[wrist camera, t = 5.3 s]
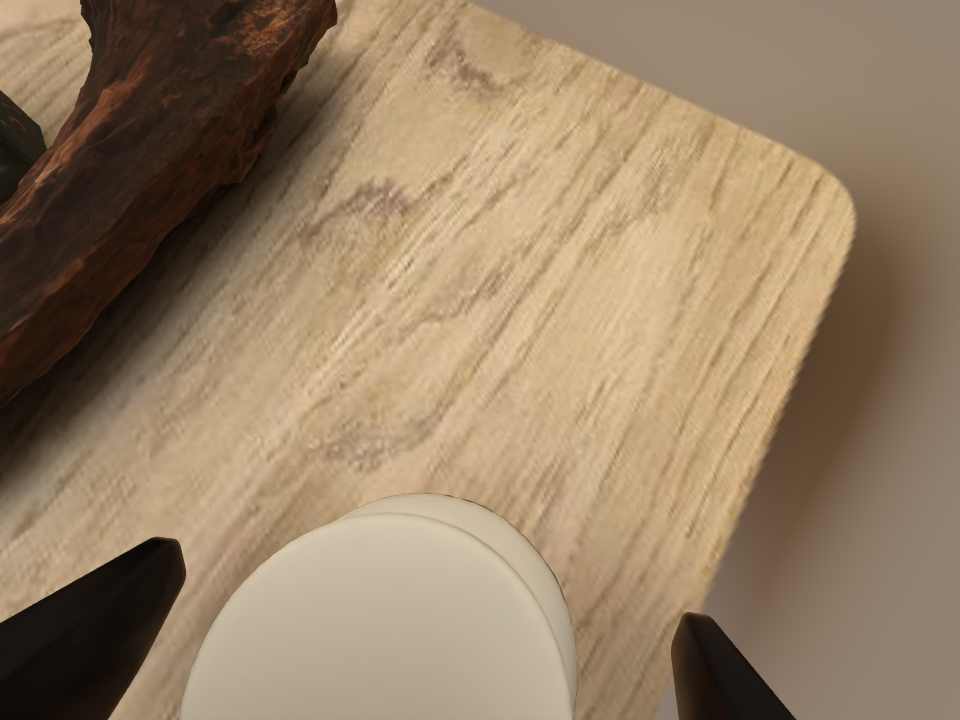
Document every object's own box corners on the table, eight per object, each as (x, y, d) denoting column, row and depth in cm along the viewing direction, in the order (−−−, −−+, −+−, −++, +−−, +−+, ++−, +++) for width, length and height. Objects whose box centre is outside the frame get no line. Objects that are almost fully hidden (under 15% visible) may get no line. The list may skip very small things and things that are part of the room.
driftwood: (213, 19, 24) (83, -230, 16) (372, 67, 22) (314, -175, 15) (-159, 489, 17) (-700, 445, 9) (44, 592, 16) (-380, 641, 8)
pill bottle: (571, 675, 15) (725, 912, 5) (380, 763, 14) (168, 1207, 5) (496, 485, 16) (513, 411, 7) (324, 555, 16) (90, 573, 6)
